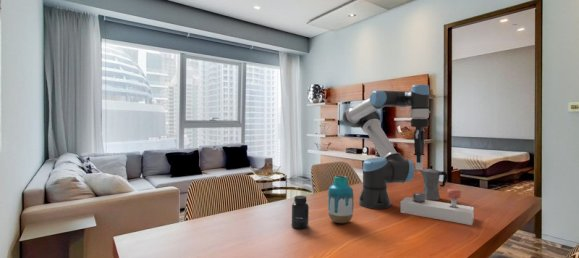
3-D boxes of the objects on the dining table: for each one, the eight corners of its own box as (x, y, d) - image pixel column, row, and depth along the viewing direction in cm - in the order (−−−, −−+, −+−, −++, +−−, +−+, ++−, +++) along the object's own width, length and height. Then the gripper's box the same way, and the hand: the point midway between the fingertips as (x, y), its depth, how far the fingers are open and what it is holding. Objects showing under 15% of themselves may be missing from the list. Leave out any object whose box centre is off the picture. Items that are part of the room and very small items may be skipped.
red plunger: (446, 208, 122) (446, 190, 122) (448, 205, 126) (448, 188, 126) (460, 210, 119) (460, 191, 119) (461, 207, 123) (461, 189, 123)
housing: (400, 212, 131) (400, 201, 131) (405, 207, 139) (406, 196, 139) (472, 225, 114) (472, 213, 114) (473, 218, 123) (473, 207, 122)
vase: (337, 216, 126) (337, 173, 125) (358, 222, 118) (358, 176, 118) (322, 222, 118) (322, 176, 118) (343, 228, 111) (343, 180, 110)
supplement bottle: (296, 230, 109) (296, 200, 108) (288, 225, 115) (288, 195, 115) (311, 227, 112) (311, 197, 112) (303, 222, 118) (303, 193, 118)
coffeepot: (414, 196, 158) (415, 164, 157) (423, 194, 163) (423, 163, 163) (443, 203, 145) (443, 168, 145) (451, 200, 151) (452, 166, 151)
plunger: (412, 211, 130) (412, 194, 130) (414, 209, 134) (414, 192, 134) (423, 214, 127) (424, 196, 127) (426, 211, 131) (426, 194, 131)
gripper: (425, 118, 122) (425, 172, 123) (431, 118, 133) (430, 168, 134) (407, 118, 127) (407, 170, 128) (414, 118, 137) (413, 166, 138)
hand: (419, 169), depth 131 cm, fingers closed
